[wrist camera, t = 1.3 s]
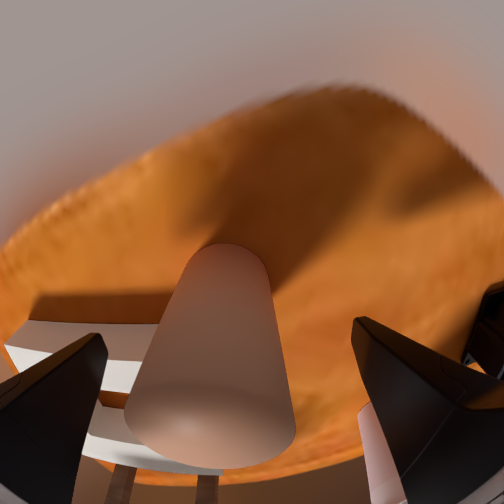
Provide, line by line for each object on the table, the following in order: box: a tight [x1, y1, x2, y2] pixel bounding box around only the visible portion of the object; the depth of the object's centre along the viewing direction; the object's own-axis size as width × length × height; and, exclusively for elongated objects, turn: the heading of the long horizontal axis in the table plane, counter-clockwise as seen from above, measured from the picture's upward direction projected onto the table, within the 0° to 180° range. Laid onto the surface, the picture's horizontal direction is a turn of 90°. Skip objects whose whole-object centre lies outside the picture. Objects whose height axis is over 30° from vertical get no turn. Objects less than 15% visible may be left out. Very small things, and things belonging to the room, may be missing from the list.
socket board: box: [4, 320, 223, 476], centre depth 14 cm, size 12×12×3 cm
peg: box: [124, 243, 296, 469], centre depth 9 cm, size 4×4×8 cm
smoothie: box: [358, 402, 408, 504], centre depth 10 cm, size 6×6×14 cm
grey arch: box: [105, 463, 219, 504], centre depth 14 cm, size 10×4×9 cm, turn 94°
